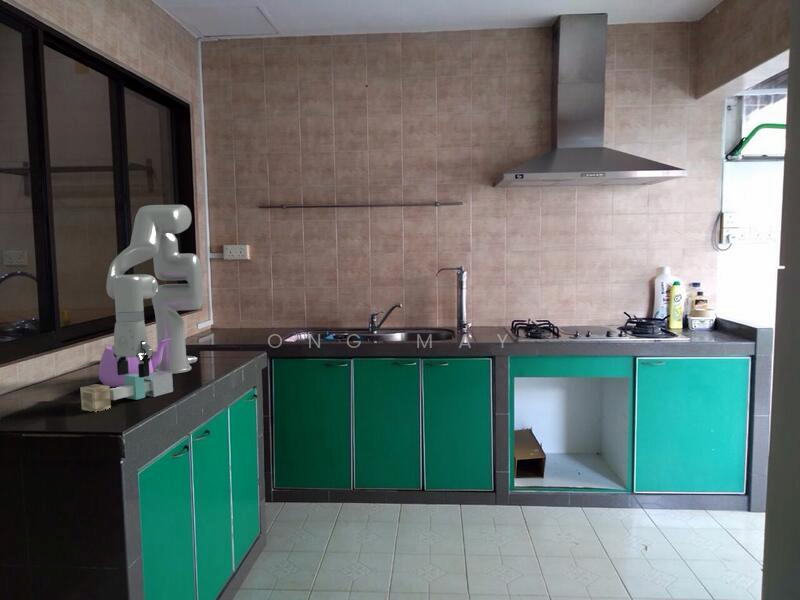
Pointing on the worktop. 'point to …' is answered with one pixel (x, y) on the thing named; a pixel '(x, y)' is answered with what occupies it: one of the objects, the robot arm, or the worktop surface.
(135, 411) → the worktop surface
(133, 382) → the plug
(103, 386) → the socket
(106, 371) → the teapot
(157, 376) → the sleeve
